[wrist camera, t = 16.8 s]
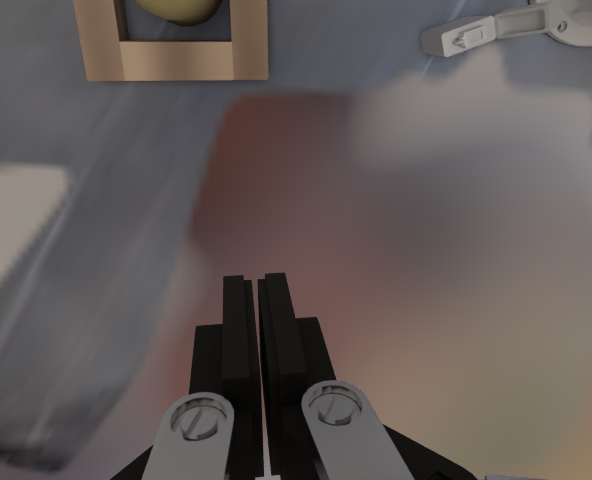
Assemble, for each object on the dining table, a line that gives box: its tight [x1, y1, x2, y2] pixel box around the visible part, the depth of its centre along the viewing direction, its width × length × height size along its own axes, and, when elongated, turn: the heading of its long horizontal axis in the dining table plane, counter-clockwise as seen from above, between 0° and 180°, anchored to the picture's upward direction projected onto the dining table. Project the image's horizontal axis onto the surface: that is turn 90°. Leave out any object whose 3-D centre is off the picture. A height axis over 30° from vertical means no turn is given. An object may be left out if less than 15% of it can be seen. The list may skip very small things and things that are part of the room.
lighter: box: [420, 0, 561, 57], centre depth 34 cm, size 7×2×8 cm, turn 108°
